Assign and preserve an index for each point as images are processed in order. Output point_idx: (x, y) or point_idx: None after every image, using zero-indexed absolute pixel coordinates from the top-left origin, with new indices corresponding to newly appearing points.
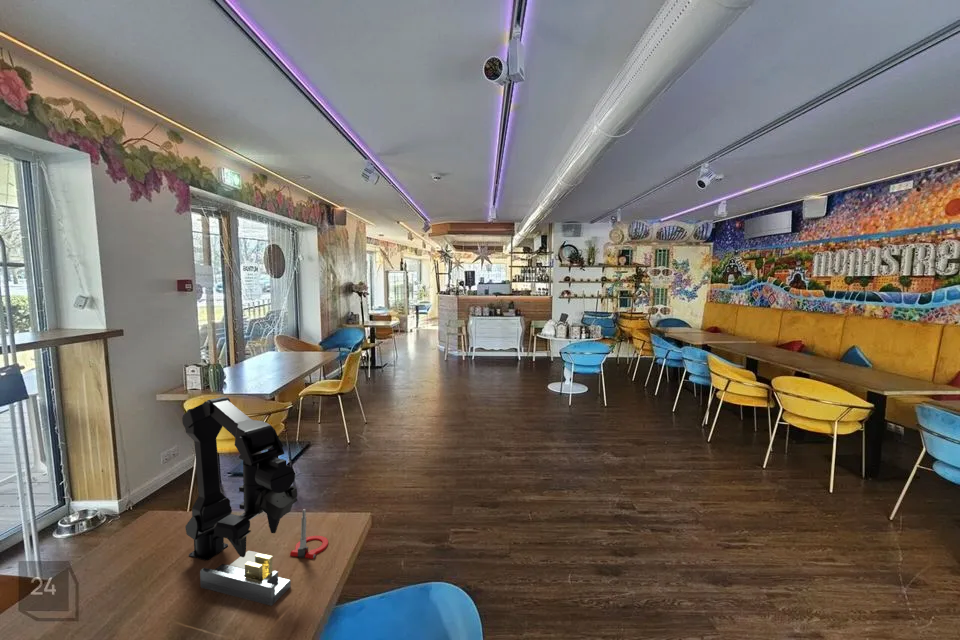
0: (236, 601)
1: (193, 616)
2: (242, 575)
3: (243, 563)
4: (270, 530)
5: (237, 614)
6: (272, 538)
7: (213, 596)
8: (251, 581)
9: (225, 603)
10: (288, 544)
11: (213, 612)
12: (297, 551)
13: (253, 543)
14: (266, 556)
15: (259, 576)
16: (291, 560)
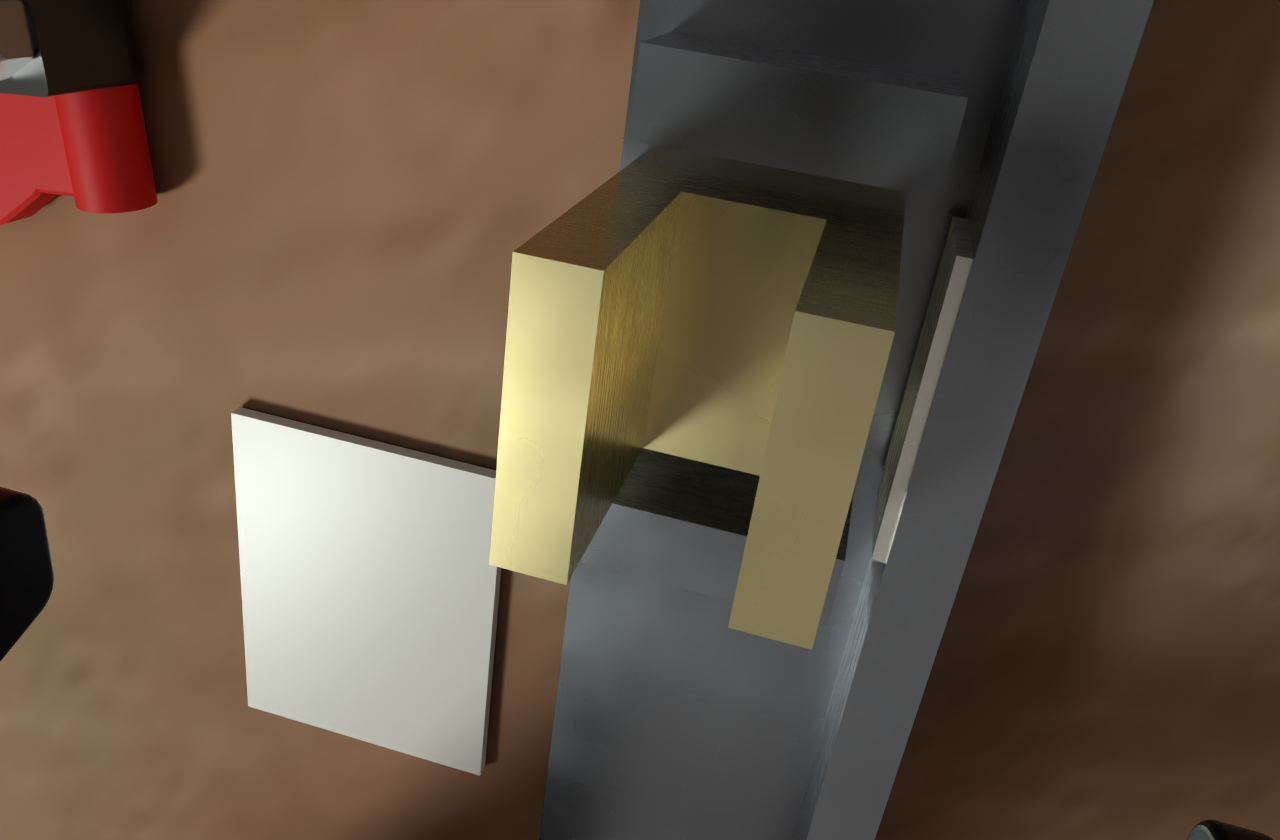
0: None
1: (1248, 755)
2: None
3: (427, 662)
4: (6, 650)
5: (1261, 288)
6: None
7: (929, 709)
8: (1005, 345)
9: (1042, 537)
10: (12, 347)
11: (1196, 591)
12: (74, 115)
13: (146, 706)
14: (539, 368)
15: (890, 267)
16: (215, 142)
